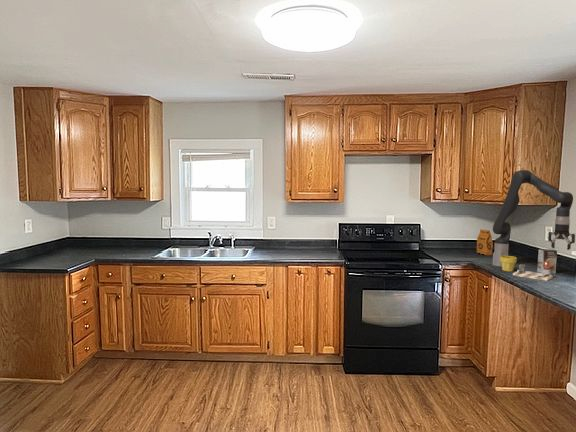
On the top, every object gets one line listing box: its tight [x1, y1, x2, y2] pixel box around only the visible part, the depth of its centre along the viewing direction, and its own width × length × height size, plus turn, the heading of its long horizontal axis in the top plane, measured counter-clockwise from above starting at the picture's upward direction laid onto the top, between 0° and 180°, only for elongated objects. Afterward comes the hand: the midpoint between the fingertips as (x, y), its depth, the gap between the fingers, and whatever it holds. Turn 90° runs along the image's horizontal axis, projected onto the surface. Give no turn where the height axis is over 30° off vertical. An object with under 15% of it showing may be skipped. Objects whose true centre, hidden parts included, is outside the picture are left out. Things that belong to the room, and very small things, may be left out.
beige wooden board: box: [512, 263, 554, 282], centre depth 258 cm, size 20×12×6 cm, turn 41°
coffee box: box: [536, 248, 558, 274], centre depth 271 cm, size 9×6×16 cm
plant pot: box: [500, 255, 518, 272], centre depth 277 cm, size 10×10×10 cm
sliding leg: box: [542, 261, 551, 277], centre depth 253 cm, size 4×8×9 cm, turn 131°
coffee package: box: [476, 229, 494, 256], centre depth 343 cm, size 10×12×22 cm
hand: (560, 248), depth 248 cm, fingers open, 7 cm apart
